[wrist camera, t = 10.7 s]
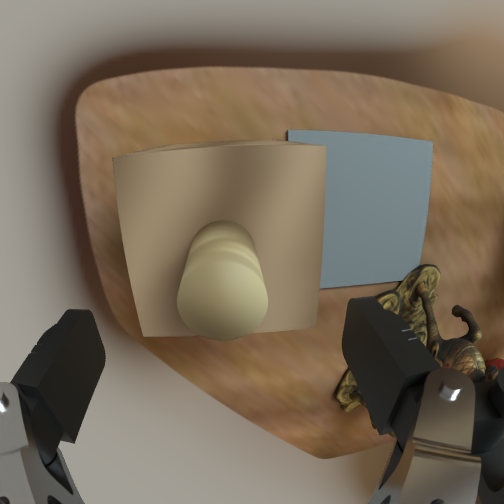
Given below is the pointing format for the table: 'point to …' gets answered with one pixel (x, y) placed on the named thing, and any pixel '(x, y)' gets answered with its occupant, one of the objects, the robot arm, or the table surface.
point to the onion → (495, 363)
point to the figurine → (426, 333)
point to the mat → (372, 205)
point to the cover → (223, 236)
